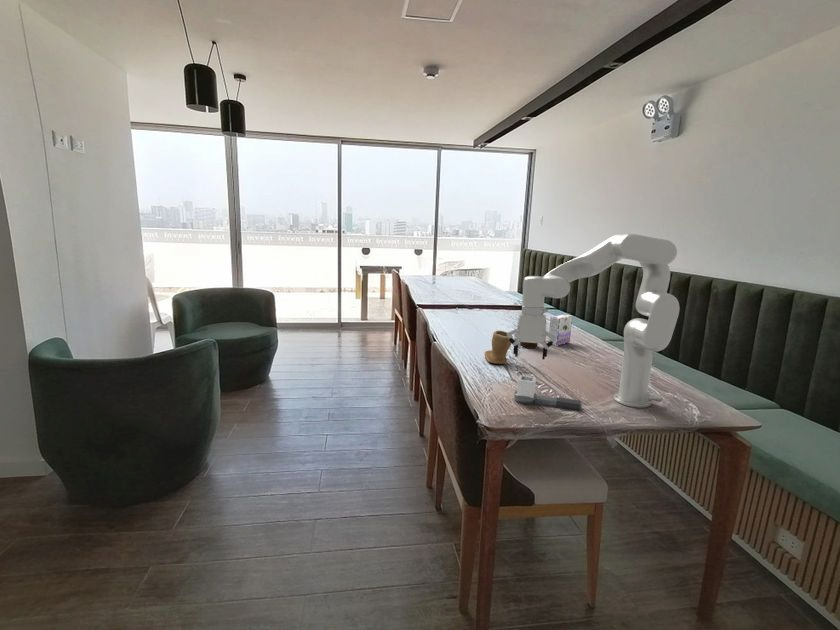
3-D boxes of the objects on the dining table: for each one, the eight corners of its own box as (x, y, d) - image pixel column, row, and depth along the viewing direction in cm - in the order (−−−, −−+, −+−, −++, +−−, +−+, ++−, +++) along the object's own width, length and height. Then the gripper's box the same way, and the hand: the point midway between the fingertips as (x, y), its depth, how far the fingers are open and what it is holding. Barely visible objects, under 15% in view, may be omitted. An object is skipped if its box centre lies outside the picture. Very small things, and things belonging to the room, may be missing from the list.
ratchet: (580, 404, 154) (582, 387, 153) (581, 412, 147) (583, 395, 145) (515, 395, 161) (516, 379, 160) (513, 402, 154) (514, 385, 153)
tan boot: (512, 366, 198) (514, 335, 195) (487, 365, 198) (489, 334, 195) (507, 357, 213) (509, 328, 210) (484, 356, 213) (485, 327, 210)
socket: (534, 392, 158) (535, 377, 157) (533, 398, 152) (534, 382, 151) (518, 390, 160) (519, 375, 158) (516, 395, 154) (517, 380, 153)
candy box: (561, 341, 250) (563, 313, 247) (570, 343, 246) (572, 315, 242) (547, 344, 241) (550, 316, 238) (556, 346, 237) (559, 317, 234)
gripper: (558, 310, 151) (554, 356, 154) (509, 307, 156) (507, 352, 159) (557, 314, 144) (554, 362, 147) (506, 311, 149) (504, 357, 152)
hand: (529, 357), depth 153 cm, fingers open, 9 cm apart
